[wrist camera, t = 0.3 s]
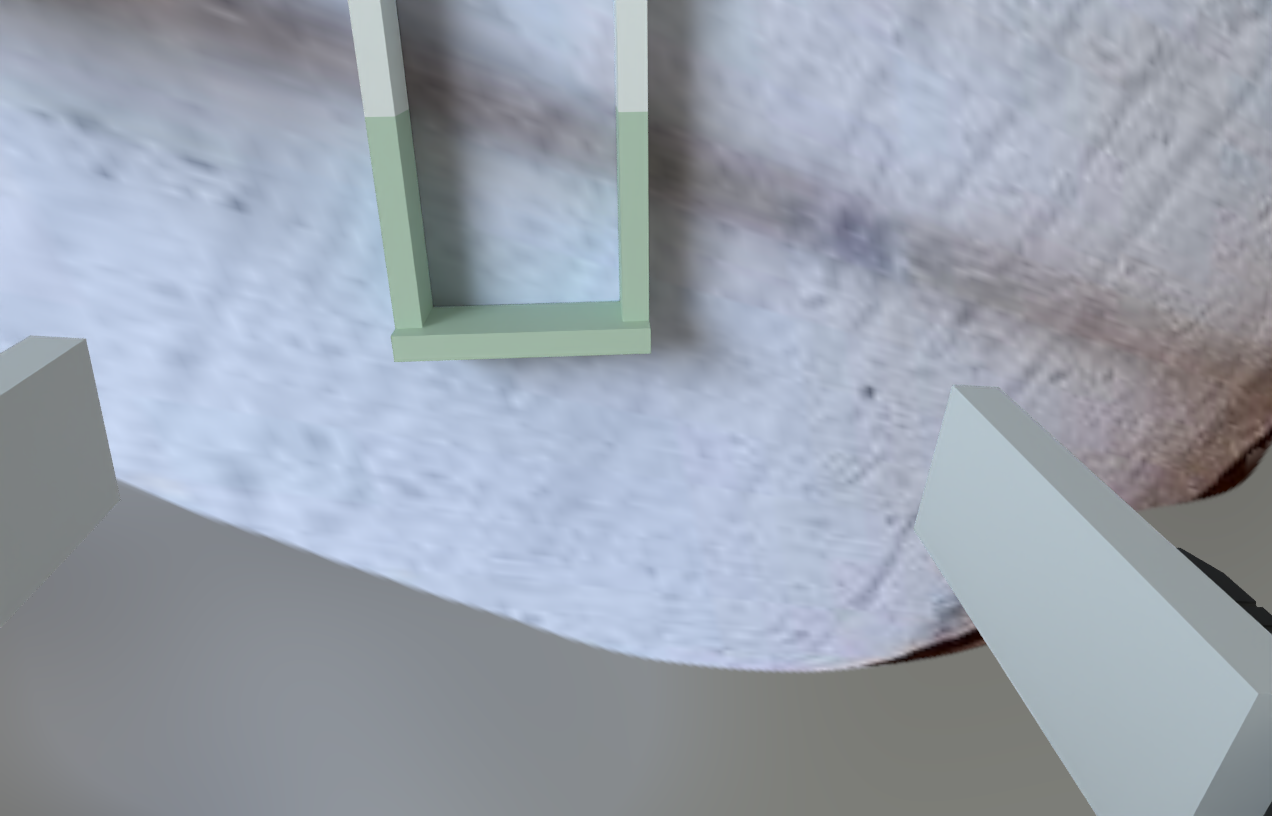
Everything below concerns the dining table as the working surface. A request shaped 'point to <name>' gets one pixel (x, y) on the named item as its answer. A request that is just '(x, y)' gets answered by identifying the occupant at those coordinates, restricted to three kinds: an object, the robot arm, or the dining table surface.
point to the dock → (402, 230)
